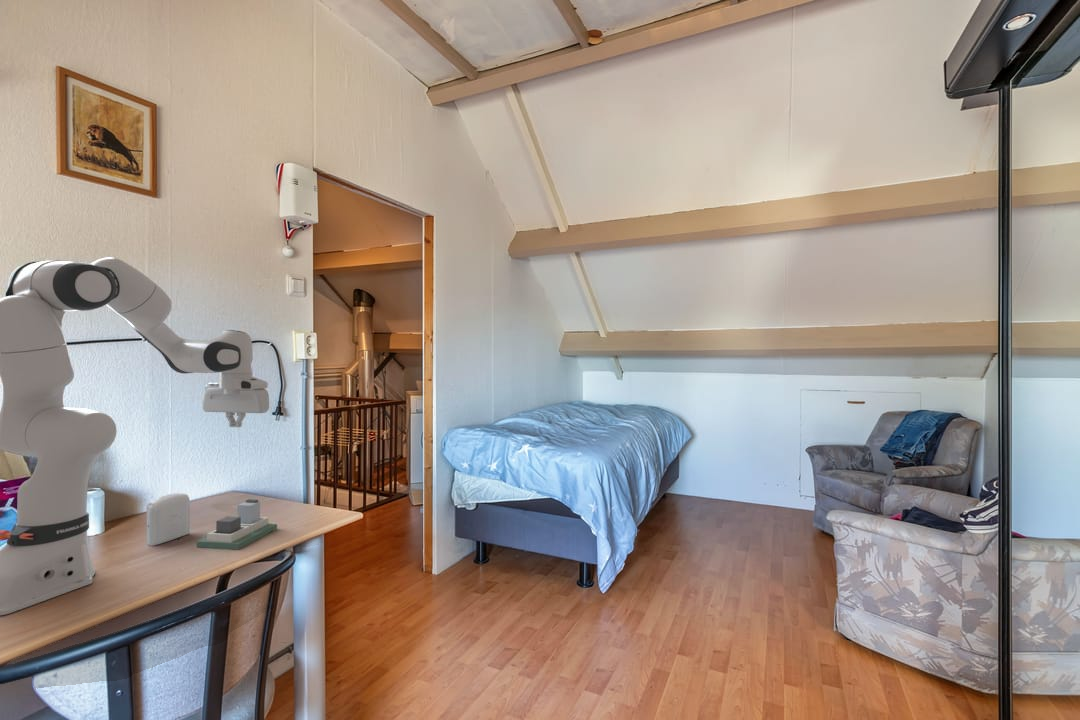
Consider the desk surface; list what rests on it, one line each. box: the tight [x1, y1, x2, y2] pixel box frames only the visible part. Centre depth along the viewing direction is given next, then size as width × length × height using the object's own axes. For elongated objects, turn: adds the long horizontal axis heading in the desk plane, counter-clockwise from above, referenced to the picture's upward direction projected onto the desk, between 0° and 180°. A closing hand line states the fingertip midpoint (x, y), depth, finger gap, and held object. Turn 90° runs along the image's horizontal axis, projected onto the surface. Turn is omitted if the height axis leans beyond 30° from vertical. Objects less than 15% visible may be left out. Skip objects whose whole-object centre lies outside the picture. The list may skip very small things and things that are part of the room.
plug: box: [237, 498, 261, 524], centre depth 142 cm, size 4×4×8 cm
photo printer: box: [146, 492, 191, 547], centre depth 136 cm, size 10×4×12 cm, turn 162°
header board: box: [196, 515, 278, 551], centre depth 138 cm, size 16×12×6 cm
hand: (235, 427), depth 153 cm, fingers closed
